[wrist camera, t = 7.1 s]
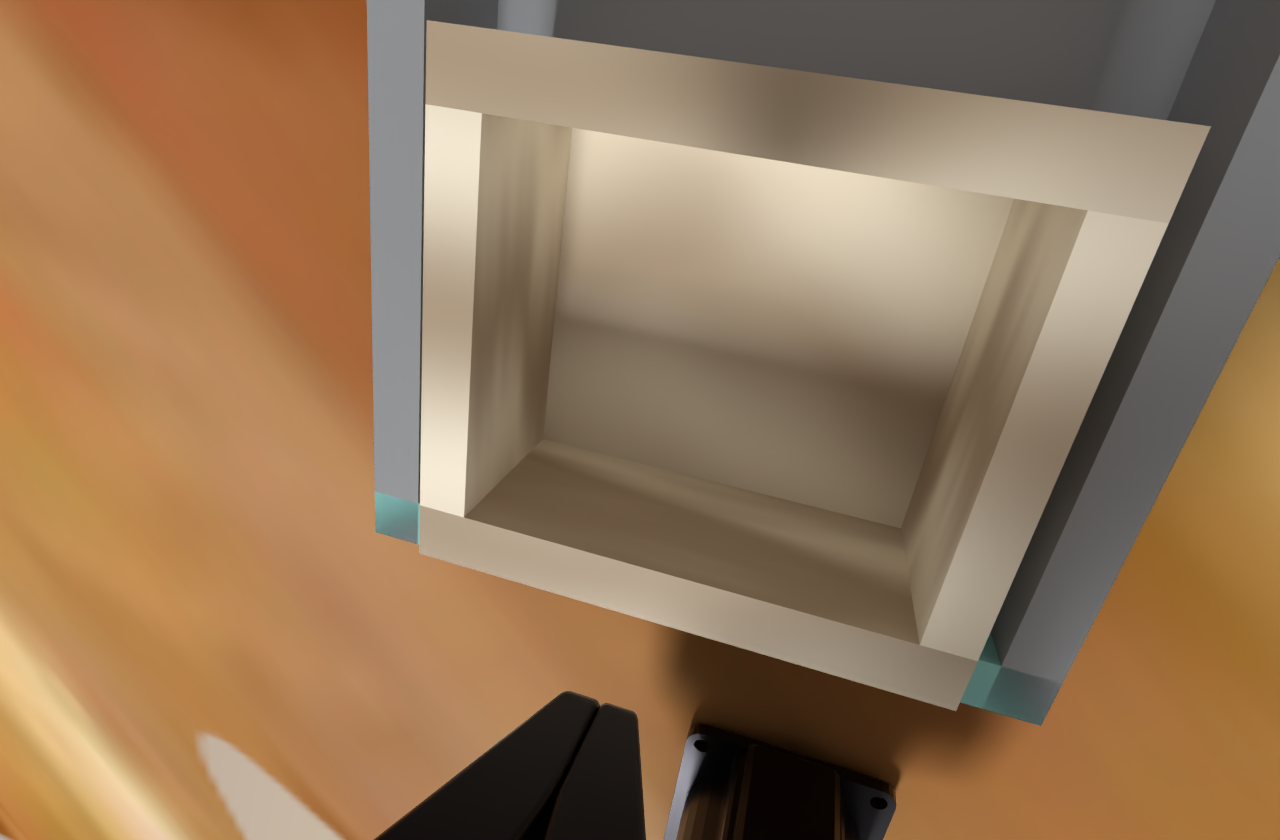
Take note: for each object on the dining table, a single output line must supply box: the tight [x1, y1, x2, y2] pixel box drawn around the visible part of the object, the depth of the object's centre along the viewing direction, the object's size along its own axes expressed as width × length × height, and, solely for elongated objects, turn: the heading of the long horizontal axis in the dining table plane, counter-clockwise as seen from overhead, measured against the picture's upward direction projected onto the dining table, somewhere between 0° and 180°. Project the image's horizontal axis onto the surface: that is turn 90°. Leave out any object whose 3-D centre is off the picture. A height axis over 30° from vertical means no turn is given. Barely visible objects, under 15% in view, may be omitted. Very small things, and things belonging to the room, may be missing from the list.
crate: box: [419, 20, 1211, 711], centre depth 14 cm, size 10×11×5 cm
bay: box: [367, 0, 1280, 726], centre depth 14 cm, size 20×16×4 cm
